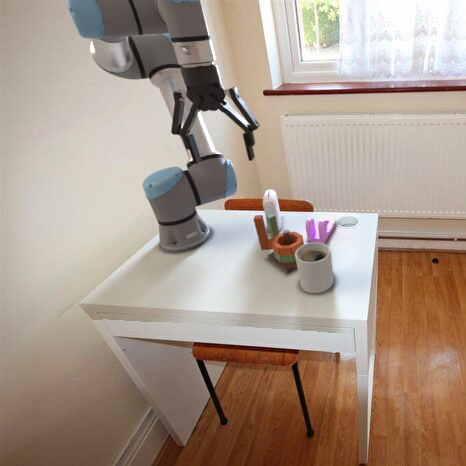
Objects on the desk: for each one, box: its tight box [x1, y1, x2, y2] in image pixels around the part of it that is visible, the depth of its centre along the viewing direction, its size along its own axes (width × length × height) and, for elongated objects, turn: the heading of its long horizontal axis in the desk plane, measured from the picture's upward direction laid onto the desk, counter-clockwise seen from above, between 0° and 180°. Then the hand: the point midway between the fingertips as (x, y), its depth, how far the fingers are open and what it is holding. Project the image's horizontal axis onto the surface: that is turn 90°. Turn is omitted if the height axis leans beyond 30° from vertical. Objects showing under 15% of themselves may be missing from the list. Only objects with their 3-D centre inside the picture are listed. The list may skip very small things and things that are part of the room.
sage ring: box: [265, 214, 305, 263], centre depth 94 cm, size 12×8×10 cm
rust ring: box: [253, 214, 305, 256], centre depth 91 cm, size 12×8×10 cm
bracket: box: [305, 217, 336, 244], centre depth 106 cm, size 13×6×7 cm, turn 163°
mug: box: [295, 242, 335, 294], centre depth 85 cm, size 11×10×10 cm
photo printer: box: [262, 189, 282, 231], centre depth 110 cm, size 10×4×12 cm, turn 8°
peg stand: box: [266, 229, 298, 274], centre depth 94 cm, size 10×10×10 cm
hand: (224, 160), depth 81 cm, fingers open, 13 cm apart
